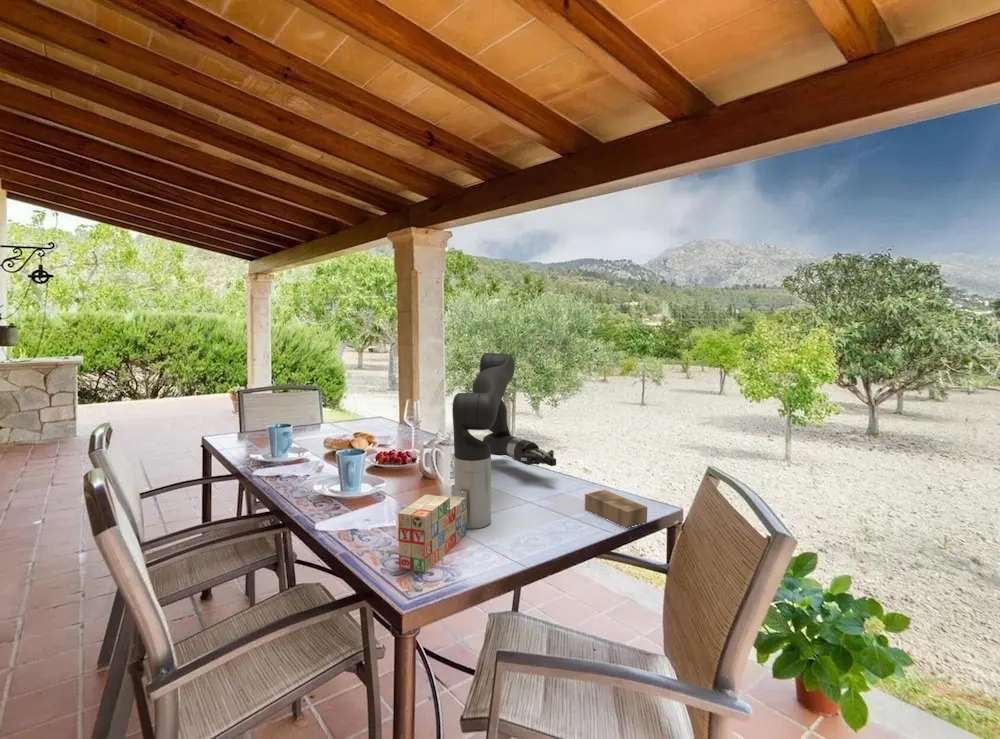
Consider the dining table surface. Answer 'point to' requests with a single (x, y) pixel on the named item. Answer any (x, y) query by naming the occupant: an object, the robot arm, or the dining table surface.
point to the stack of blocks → (430, 530)
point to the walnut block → (615, 508)
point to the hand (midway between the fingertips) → (554, 462)
